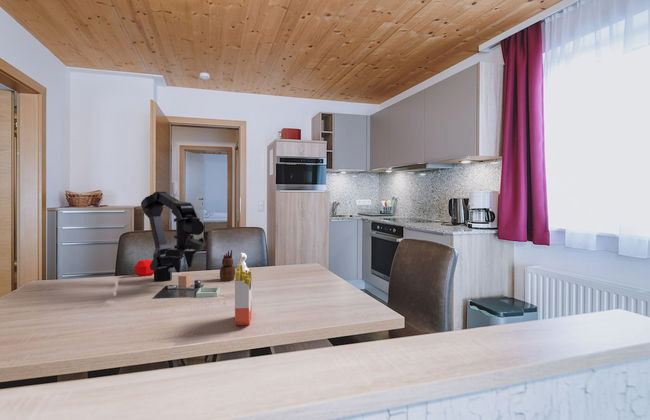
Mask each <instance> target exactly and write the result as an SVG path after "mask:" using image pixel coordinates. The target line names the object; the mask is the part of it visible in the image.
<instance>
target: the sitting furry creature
mask: <svg viewBox="0 0 650 420" xmlns="http://www.w3.org/2000/svg"><path fill="white" fill-rule="evenodd" d="M247 257H248V256H247V254H246V253H245V252H240V254H239V255H238V256H237V259H236V261H237V264H236V268H235V272H236V271H237V268H238V264H242V271H245V270H247V273H248V270H250V269H249V267H248V266H247V262H246V260H247ZM235 278H236V276H235Z"/></svg>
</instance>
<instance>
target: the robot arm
mask: <svg viewBox="0 0 650 420" xmlns="http://www.w3.org/2000/svg"><path fill="white" fill-rule="evenodd" d="M164 206H165V207H167V208H169V209H171V214H173V215H174V216H175V218H174V219H173V222H175V223H176V224H175V227H176V228H175V230H176V231H175V233H176V234H175V235H174V236H173V238H174V239H176V241H175V242H176V243H175V245H174V247H170V246H169V245H168V243H167V238H166V233H165V229H164V225H163V219H162V216H161V215H162V213H163V210H164ZM140 207H141V209H142V211H143V214H144V215H145V216H146V217H147V218H148V220H149V224H150V228H151V232H152V237H153V243H154V248H155V249H154V252H153V254H152V257H153V259H152V260H151V261H152V262H151V264H150V269H151V270H153V271H154V273H153V282H156V283H157V282H158V283H164V282H170V281H172V280H173V273H172V272H173V271H172V270H171V269H174V270H175V271H176V272H177V273H180V272H181V265H182V260H183V259H184V257H185V261H186V264H187V267H188V268H191V267H192V264H193V261H194V258H195V255H196V254H197V253H199V252H201V251H204V248H205V246H206V238H205V237H200V238H199V239H198V238H197V239H196V238H194V235H195V236H199V235H201V234H202V233H203V232H204V231H205V226H204V223H203V222H202V221H201V219H200V217H199V216H198V213H197V212H196V210H195V208H194V205H193V203H191V202H188V201H180V200H179V199H177V198H176V197H174V196H172V195H171V194H169V193H168V192H166V191H155V192H153V193H152V194H150V195H148V196H146V197H144V198H143V199H142V200H141V203H140Z"/></svg>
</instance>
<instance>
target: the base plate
mask: <svg viewBox="0 0 650 420" xmlns="http://www.w3.org/2000/svg"><path fill="white" fill-rule="evenodd" d="M176 285H177V286H178V284H176ZM168 286H169V285H165V286H164V287H162V288H161V290H159V291H158V292H157V293H156V294H155V295H154V296H153V297H152V298H151V300H152V299H153V300H157V299H159V300H160V299H177V298H178V299H179V298H197V297H196V293H197V291H198V290H192V289H168ZM204 286H205V284H201V288H204ZM189 287H194V284H191V286H189Z"/></svg>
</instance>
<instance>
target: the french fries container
mask: <svg viewBox="0 0 650 420" xmlns="http://www.w3.org/2000/svg"><path fill="white" fill-rule="evenodd" d="M237 264H238V263H237ZM236 269H237V271H236V270H235V271H236V272H235V276H236V277H235V279H234V321H235V325H236V326H250V325H251V320H252V312H253V288H252V287H253V286H252V284H253V282H252V280H253V279H252V270H250V269H249V270H248V273H247V270H245V271H242V264H238V268H237V267H236Z"/></svg>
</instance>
